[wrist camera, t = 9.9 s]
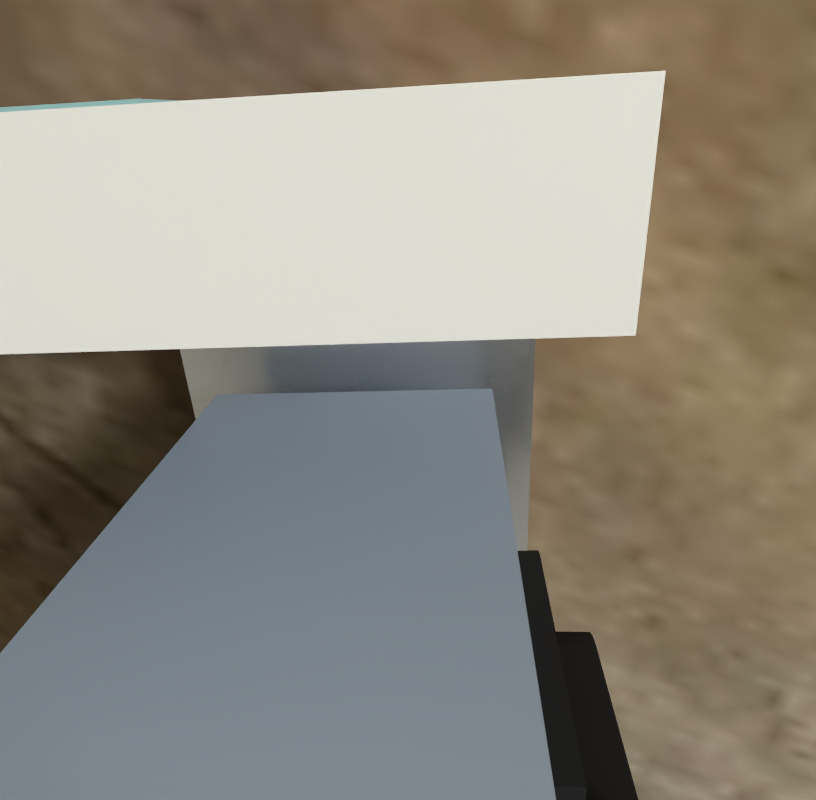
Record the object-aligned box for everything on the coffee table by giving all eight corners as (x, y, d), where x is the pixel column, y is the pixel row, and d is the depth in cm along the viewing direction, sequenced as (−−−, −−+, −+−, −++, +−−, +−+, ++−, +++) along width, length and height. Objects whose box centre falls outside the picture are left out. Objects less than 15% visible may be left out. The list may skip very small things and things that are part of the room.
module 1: (539, 225, 11) (634, 340, 5) (155, 241, 11) (-122, 363, 6) (544, 91, 10) (665, 62, 4) (126, 116, 10) (-232, 119, 5)
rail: (513, 700, 18) (519, 748, 17) (282, 696, 18) (269, 743, 17) (532, 97, 11) (544, 95, 10) (164, 119, 12) (127, 119, 10)
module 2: (492, 672, 14) (541, 1321, 6) (270, 669, 14) (75, 1274, 7) (495, 388, 11) (592, 985, 3) (214, 395, 11) (-250, 941, 4)
